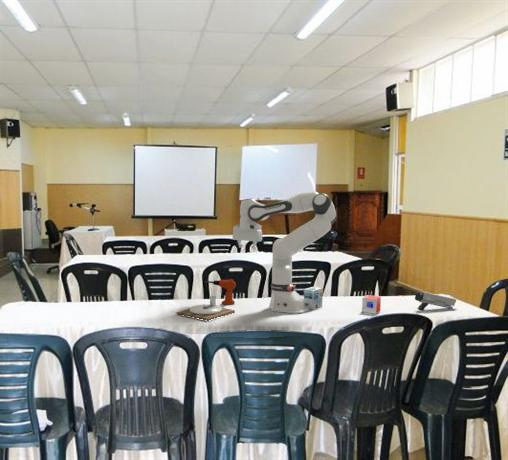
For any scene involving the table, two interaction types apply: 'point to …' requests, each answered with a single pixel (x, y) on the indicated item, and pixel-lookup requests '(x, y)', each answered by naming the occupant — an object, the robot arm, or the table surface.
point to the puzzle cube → (371, 304)
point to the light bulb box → (313, 297)
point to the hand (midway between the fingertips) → (247, 248)
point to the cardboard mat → (206, 317)
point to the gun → (434, 300)
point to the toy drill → (226, 290)
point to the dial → (206, 308)
